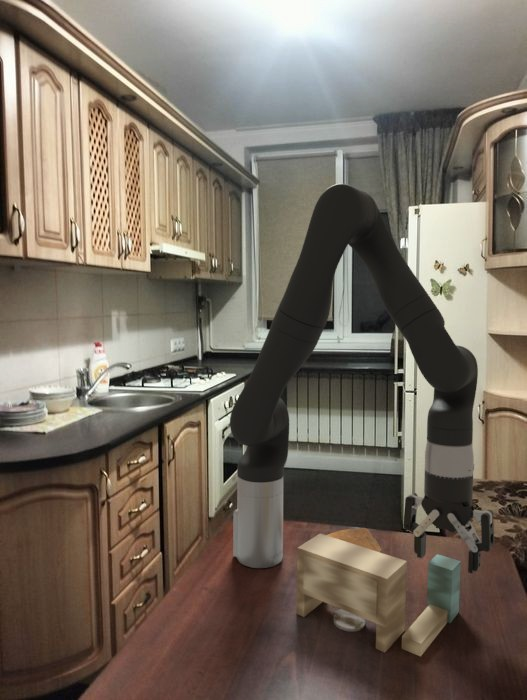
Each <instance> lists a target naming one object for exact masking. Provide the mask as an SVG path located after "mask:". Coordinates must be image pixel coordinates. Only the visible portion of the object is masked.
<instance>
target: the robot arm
mask: <svg viewBox="0 0 527 700" xmlns="http://www.w3.org/2000/svg"><path fill="white" fill-rule="evenodd" d="M309 221H310V222H309V224H308V227H307V231H306V235H305V238H304V241H303V245H302V248H301V251H300V254H299V256H298V259H297V262H296V265H295V267H294V269H293V271H292V274H291V276H290V278H289V282H288V283H287V286H286V289H285V292H284V294H283V296H282V298H281V301H280V303H279V305H278V307H277V310H276V312H275V315H274V317H273V319H272V322H271V324H270V327H269V330H268V333H267V335H266V337H265V339H264V340H265V341H264V342H263V345H262V347H261V350H260V351H259V355H258V357H257V359H256V362H255V364H254V367H253V369H252V372H251V373H250V375H249V377H248V379H247V381H246V382H245V385H244V387H243V388H242V390H241V392H240V394H239V395H238V397H237V400H236V401H235V403H234V405H233V407H232V410H231V412H230V417H229V428H230V432H231V435H232V437H233V439H234V440H235V441H236V442H237V443H239V444H241V445H243V446H246V449H245V452H244V453H243V454H242V456H241V457H240V459H238V462H237V470H236V471H237V473H236V474H237V478H236V479H237V482H236V484H237V486H236V489H237V496H236V497H237V500H236V501H237V502H236V503H237V505H236V506H237V507H236V508H237V509H235V510H233V514H232V517H233V518H232V522H233V523H232V525H233V526H232V528H233V534H232V535H233V536H232V537H233V539H232V543H233V545H232V550H233V551H232V553H233V554H232V556H233V557H234V558H236V559H237V561H238V562H239V563H240V564H241V565H243V566H246V567H249V568H253V569H267V568H272V567H275V566H277V565H279V564H280V563H281V562H282V561H283V556H284V555H283V554H284V553H283V552H284V551H283V550H284V549H283V548H284V473H285V472H284V471H285V466H286V463H287V462H288V461H287V460H288V456H289V442H290V441H289V440H290V439H289V438H290V415H289V410H288V406H287V405H286V403H285V402H284V400H283V399H282V398H281V397H282V395H283V392H284V391H285V389H286V387H287V385H289V382H290V381H291V380H292V379H293V378H294V376H295V375H296V374H297V372H299V370H300V369H301V368H302V367H303V365H304V364H305V363H306V362H307V361H308V360H309V357H310V356H311V355H312V353H313V352H314V350H315V348H316V347H317V345H318V343H319V341H320V338H321V336H322V333H323V331H324V330H325V327H326V324H327V323H328V319H329V316H330V312H331V304H332V293H333V283H334V278H335V274H336V270H337V268H338V266H339V263H340V262H341V259H342V257H343V255H344V253H345V250H346V249H347V247H348V246H349V247H350V248H351V249H352V250H353V251H354V252H355V253H356V254H357V255H358V257H359V258H360V259H361V261H362V262H363V263H364V265H365V266H366V269H368V271H369V273H370V275H371V277H372V280H373V283H374V285H375V288H376V290H377V292H378V295H379V296H378V297H379V298H380V300H381V302H382V304H383V307H384V308H385V310H386V312H387V313H388V316H389V317H390V318H391V320H392V321H393V323H394V325H395V326H396V327H397V330H399V332H400V334H401V335H402V337H403V338H404V339H405V341H406V342H407V344H408V347H409V350H410V352H411V355H412V356H413V359H414V361H415V363H416V365H417V368H418V369H419V371H420V374H422V376H423V378H424V379H425V381H426V382H427V383H428V384H429V385H430V386H431V387H432V388H434V389H433V401H432V404H431V406H430V408H429V409H428V413H427V420H426V421H427V422H426V423H427V424H426V426H427V427H426V444H425V445H426V446H425V451H424V481H423V482H424V486H423V487H424V488H423V492H424V494H423V495H424V496H423V497H421V496H419V495H418V494H417V493H416V492H412V493H410V494H408V495H407V496H406V497H405V500H404V510H403V511H404V513H403V529H404V531H410V532H411V533H412V534H413V538H414V540H413V543H414V544H413V546H414V547H413V551H414V554H416V557H417V558H418V559H421V560H422V559H423V558H424V557H425V556H426V555H427V533H426V531H427V530H428V528H430V527H431V526H432V525H433V526H434V527H435V528H436V529H439V530H446V531H448V532H451V533H454V534H455V533H456V532H457V534H458V535H459V536H460V538H461V540H463V541H464V542H465V543H466V545H467V547H468V548H469V551H468V563H467V564H468V565H467V567H468V568H467V570H468V571H467V572H468V573H469V574H472V575H474V573H476V572H478V570H479V569H480V568H481V565H482V552H486V553H488V552H490V551H491V549H492V547H494V546H495V524H494V523H495V522H494V512H493V510H492V509H486V510H480V509H475V507H474V504H473V499H474V498H473V494H474V490H473V488H474V471H475V464H474V460H475V459H474V449H473V435H474V427H473V426H474V424H473V423H474V418H473V415H474V414H473V411H474V410H473V409H474V405H475V400H476V399H475V398H476V393H477V385H478V375H479V374H478V373H479V367H478V362H477V358H476V356H475V355H474V353H473V352H472V351H471V350H470V349H469V348H467V347H465V346H461V345H457V344H456V343H455V341H454V340H453V339H452V338H451V335H450V334H449V332H448V330H447V329H446V327H445V323H446V322H445V318H444V316H443V314H442V313H441V311H440V310H439V308H438V307H437V305H436V304H435V303H434V301H433V299H432V297H430V295H429V294H428V292H427V290H426V289H425V288H424V287H423V285H422V283H421V282H420V281H419V280H418V278H417V277H416V275H415V273H414V272H413V270H412V269H411V267H410V266H409V265H408V263H407V262H406V260H405V258H404V257H403V255H402V253H401V252H400V250H399V249H398V246H397V245H396V243H395V241H394V239H393V238H392V236H391V233H390V231H389V229H388V227H387V224H386V222H385V220H384V218H383V217H382V213H381V212H380V210H379V207H378V205H377V202H376V201H375V199H374V198H373V197H372V196H371V195H370V194H369V193H367V192H366V191H364V190H362V189H359V188H357V187H355V186H353V185H350V184H347V183H335V184H333V185H331V186H329V187H328V188H326V189H325V190H324V191H323V192H322V193H321V195H320V196H319V197H318V199H317V201H316V203H315V205H314V208H313V211H312V214H311V217H310V220H309ZM420 507H422V509H423V511H424V512H425V514H426V515H427V516H426V517H425V518H424V519H423V520H422V521H421V522H420V523H417V514H418V513H417V511H418V509H419V508H420ZM473 518H475V520H476V521H477V523H478V525H480V531H481V532H480V533H481V538H480V537H479V536H478V533H477V532H476V529H475V528H476V527H475V526H474V525H473V524H472V521H471V520H472V519H473Z"/></svg>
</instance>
